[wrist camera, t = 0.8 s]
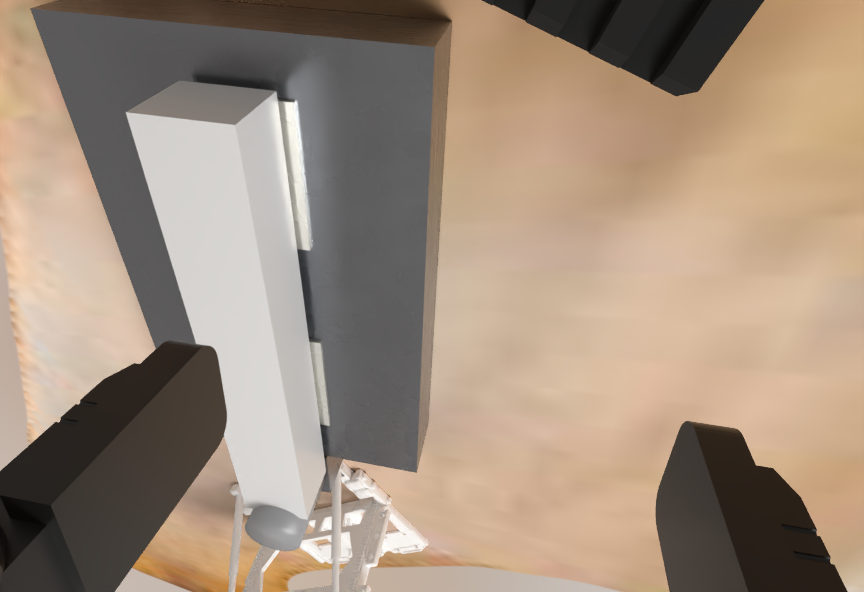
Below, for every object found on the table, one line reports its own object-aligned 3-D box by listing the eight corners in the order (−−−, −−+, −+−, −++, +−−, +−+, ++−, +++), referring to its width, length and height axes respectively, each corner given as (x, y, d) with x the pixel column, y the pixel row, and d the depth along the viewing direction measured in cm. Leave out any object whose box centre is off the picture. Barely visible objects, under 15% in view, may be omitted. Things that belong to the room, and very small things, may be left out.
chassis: (96, -11, 25) (26, 9, 22) (451, 21, 23) (433, 48, 20) (224, 421, 44) (197, 466, 40) (426, 458, 42) (414, 508, 39)
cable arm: (329, 495, 39) (306, 556, 35) (274, 484, 39) (247, 543, 36) (276, 90, 22) (222, 135, 18) (179, 80, 22) (109, 121, 19)
